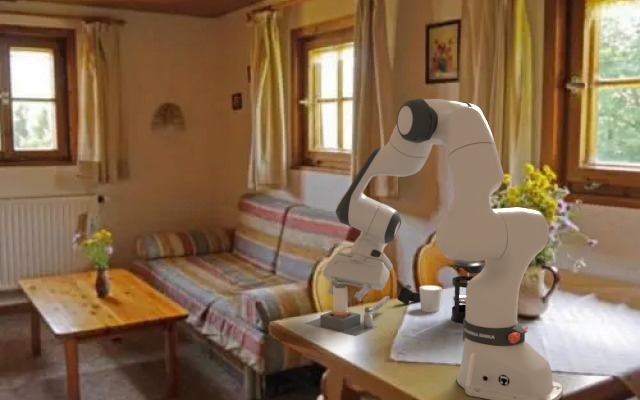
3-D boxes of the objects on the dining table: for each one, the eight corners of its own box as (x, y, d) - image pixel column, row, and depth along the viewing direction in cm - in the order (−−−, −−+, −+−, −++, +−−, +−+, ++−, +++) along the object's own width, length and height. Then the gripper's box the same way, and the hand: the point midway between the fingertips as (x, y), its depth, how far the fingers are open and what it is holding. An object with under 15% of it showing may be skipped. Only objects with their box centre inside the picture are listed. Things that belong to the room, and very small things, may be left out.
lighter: (412, 309, 218) (419, 293, 219) (417, 310, 216) (424, 294, 217) (395, 298, 213) (402, 282, 214) (400, 299, 211) (407, 283, 213)
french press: (466, 327, 190) (467, 246, 188) (442, 319, 198) (443, 241, 195) (494, 319, 197) (496, 242, 194) (470, 312, 205) (472, 237, 202)
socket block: (377, 330, 188) (377, 315, 188) (355, 339, 180) (355, 324, 180) (326, 318, 200) (326, 304, 199) (304, 326, 192) (304, 312, 191)
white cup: (430, 314, 203) (430, 291, 202) (414, 309, 209) (414, 286, 208) (446, 310, 207) (446, 287, 206) (430, 305, 213) (430, 283, 212)
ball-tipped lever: (370, 316, 186) (370, 309, 186) (363, 315, 187) (363, 308, 187) (390, 300, 203) (390, 293, 203) (384, 299, 204) (384, 293, 203)
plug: (352, 324, 190) (352, 284, 189) (341, 328, 187) (341, 287, 185) (339, 321, 193) (338, 281, 192) (328, 325, 190) (328, 285, 188)
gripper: (331, 245, 201) (310, 284, 195) (388, 254, 188) (368, 295, 182) (341, 258, 205) (320, 296, 199) (397, 267, 192) (377, 308, 186)
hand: (343, 296), depth 190 cm, fingers open, 8 cm apart
